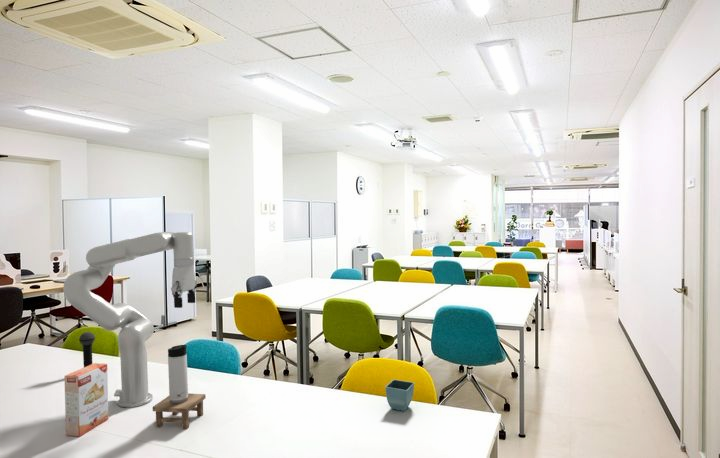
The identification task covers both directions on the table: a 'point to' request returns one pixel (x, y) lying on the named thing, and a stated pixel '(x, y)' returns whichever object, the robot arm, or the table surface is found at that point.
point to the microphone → (87, 347)
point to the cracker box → (86, 399)
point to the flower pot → (399, 394)
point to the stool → (179, 409)
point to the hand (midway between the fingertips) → (185, 305)
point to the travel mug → (178, 374)
